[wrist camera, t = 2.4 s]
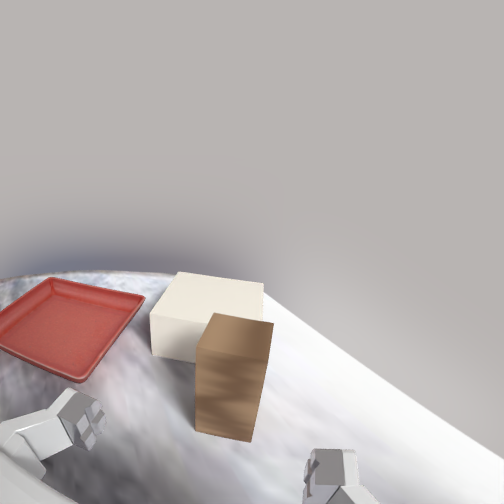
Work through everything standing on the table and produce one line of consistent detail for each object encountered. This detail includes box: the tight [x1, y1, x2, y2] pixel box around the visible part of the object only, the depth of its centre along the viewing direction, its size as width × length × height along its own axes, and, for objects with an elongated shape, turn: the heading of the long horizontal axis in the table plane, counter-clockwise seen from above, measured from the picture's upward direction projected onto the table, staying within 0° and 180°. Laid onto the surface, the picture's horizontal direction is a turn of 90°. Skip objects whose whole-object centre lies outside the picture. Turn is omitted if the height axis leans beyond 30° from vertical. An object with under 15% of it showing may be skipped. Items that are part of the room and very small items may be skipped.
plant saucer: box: [0, 277, 146, 383], centre depth 31 cm, size 18×18×3 cm
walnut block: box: [195, 313, 274, 443], centre depth 23 cm, size 5×5×10 cm
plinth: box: [150, 272, 264, 363], centre depth 37 cm, size 12×12×6 cm
